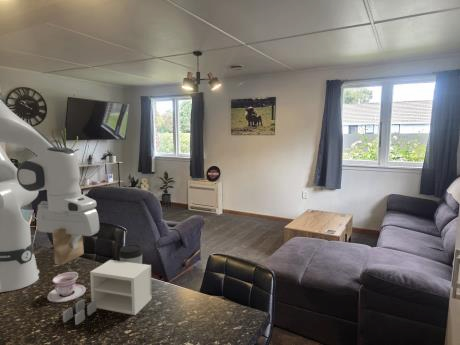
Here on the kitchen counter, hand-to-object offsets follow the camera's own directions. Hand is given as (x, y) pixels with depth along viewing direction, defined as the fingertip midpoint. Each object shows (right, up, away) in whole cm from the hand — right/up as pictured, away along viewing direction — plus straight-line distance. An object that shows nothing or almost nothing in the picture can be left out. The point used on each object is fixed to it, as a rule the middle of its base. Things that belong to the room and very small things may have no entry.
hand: (69, 247), depth 90 cm
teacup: (-9, -21, +16) cm, 27 cm away
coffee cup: (+12, -20, +20) cm, 31 cm away
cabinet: (+10, -21, +6) cm, 24 cm away
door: (0, -4, +1) cm, 4 cm away
